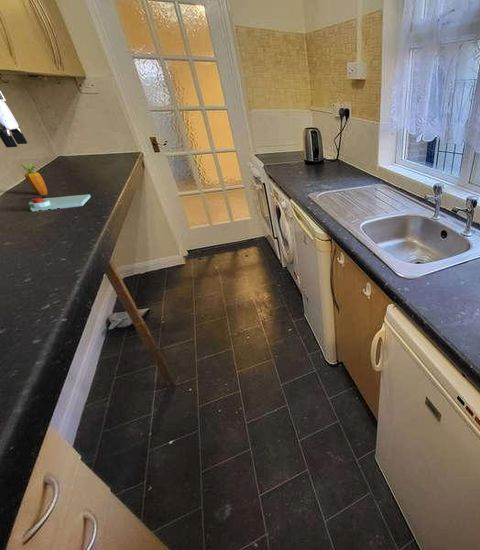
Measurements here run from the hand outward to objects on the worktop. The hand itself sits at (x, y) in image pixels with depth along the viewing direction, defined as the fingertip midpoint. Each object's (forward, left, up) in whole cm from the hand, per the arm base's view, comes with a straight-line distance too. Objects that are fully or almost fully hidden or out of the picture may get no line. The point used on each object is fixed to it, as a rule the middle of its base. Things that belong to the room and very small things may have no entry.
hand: (17, 145), depth 120 cm
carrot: (0, 0, -22) cm, 22 cm away
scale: (+9, -12, -22) cm, 27 cm away
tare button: (+3, -16, -20) cm, 26 cm away
